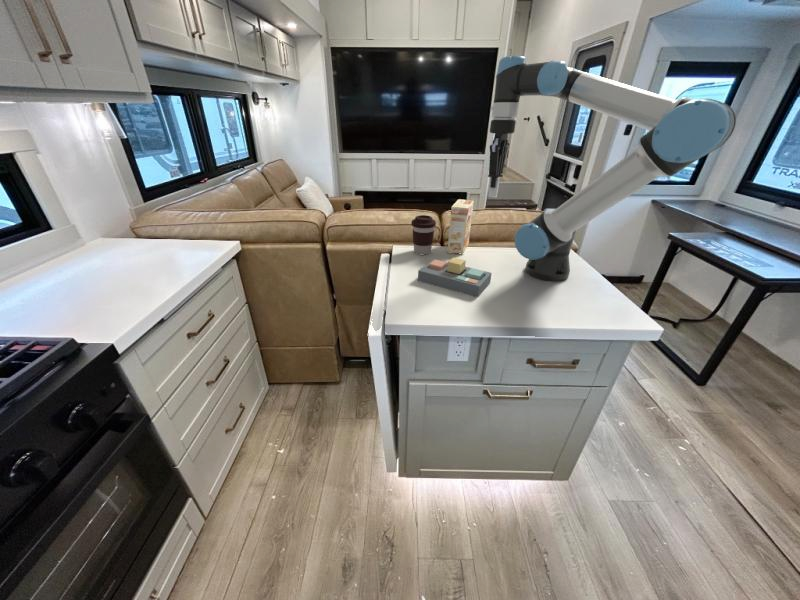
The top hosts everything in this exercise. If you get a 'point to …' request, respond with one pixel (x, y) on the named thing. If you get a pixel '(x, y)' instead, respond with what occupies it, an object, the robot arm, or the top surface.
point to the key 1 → (438, 265)
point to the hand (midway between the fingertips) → (492, 196)
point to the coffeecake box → (460, 226)
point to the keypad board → (454, 280)
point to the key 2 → (475, 274)
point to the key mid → (456, 265)
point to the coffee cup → (423, 233)
